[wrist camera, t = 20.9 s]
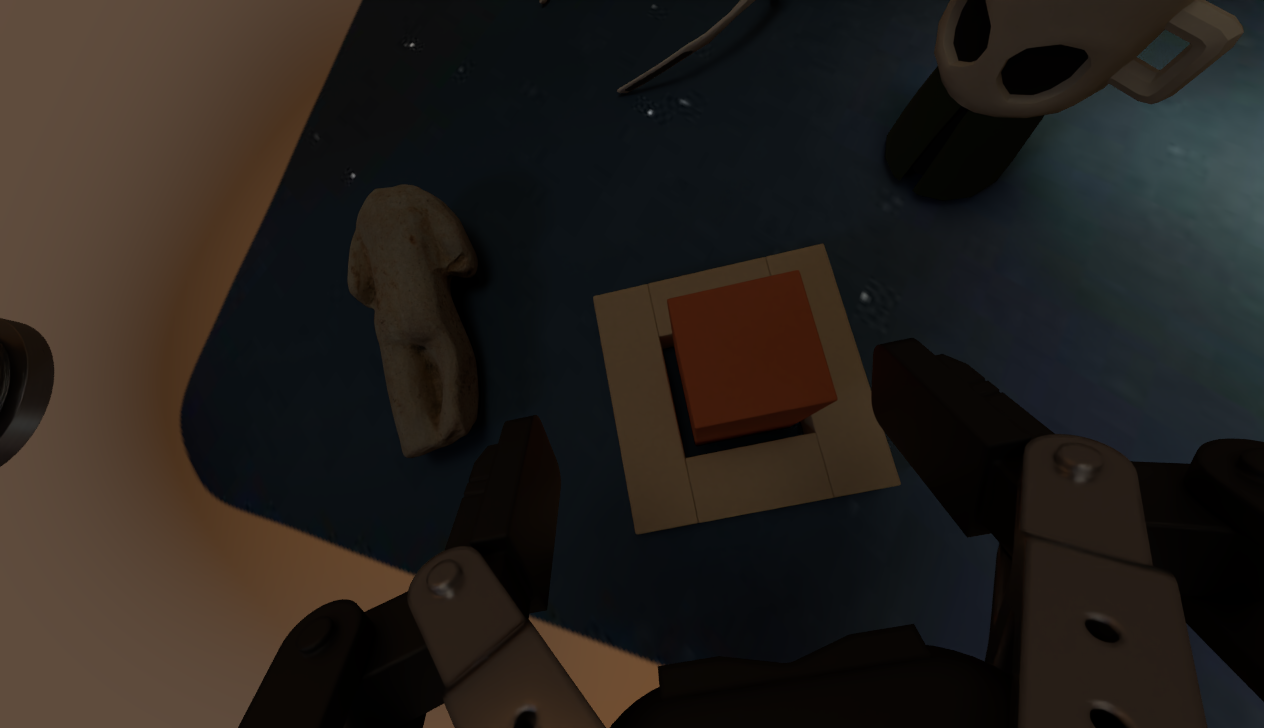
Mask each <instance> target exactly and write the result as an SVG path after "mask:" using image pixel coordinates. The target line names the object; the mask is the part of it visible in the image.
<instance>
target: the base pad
mask: <svg viewBox="0 0 1264 728" xmlns="http://www.w3.org/2000/svg"><path fill="white" fill-rule="evenodd" d="M795 270H799V271H800V274H801V277H802V281H803V284H804V287H805V291H806V294H807V297H808V301H809V304H810V307H811V311H812V314H813V317H814V321H815V324H816V327H817V331H818V334H819V337H820V341H821V344H822V347H823V351H824V354H825V358H826V361H827V364H828V368H829V371H830V374H831V378H832V381H833V384H834V388H835V391H836V394H837V398H838V400H837V401H835V402H834V403H832V404H830V405H828V406H827V407H825V408H823V409H821V410H819V411H818V412H816V413H814V414H812V415H810V416H809V417H807V418H805V419H803V420H802V421H800V422H801V426H802V430H803V433H804V435H799V436H794V437H789V438H784V439H779V440H774V441H769V442H764V443H759V444H754V445H749V446H744V447H739V448H734V449H729V450H724V451H719V452H714V453H709V454H704V455H699V456H694V457H689V458H686V457H685V452H684V448H683V443H682V438H681V434H680V429H679V424H678V419H677V415H676V410H675V405H674V401H673V396H672V391H671V387H670V382H669V377H668V373H667V368H666V363H665V359H664V354H663V349H665V348H670V347H674V341H673V335H672V329H671V323H670V317H669V311H668V305H667V299H669V298H674V297H678V296H683V295H687V294H692V293H696V292H701V291H705V290H710V289H714V288H719V287H723V286H728V285H732V284H736V283H741V282H745V281H750V280H754V279H759V278H763V277H768V276H772V275H777V274H781V273H786V272H790V271H795ZM593 300H594V305H595V311H596V316H597V322H598V328H599V333H600V339H601V344H602V350H603V355H604V361H605V366H606V372H607V377H608V383H609V389H610V394H611V400H612V405H613V411H614V416H615V422H616V427H617V433H618V438H619V444H620V450H621V455H622V461H623V466H624V472H625V477H626V483H627V488H628V494H629V499H630V505H631V511H632V516H633V522H634V527H635V533H636V534H643V533H648V532H653V531H659V530H664V529H669V528H675V527H680V526H685V525H691V524H696V523H698V521H699V523H702V522H707V521H712V520H718V519H723V518H728V517H734V516H739V515H744V514H750V513H755V512H760V511H766V510H771V509H776V508H782V507H787V506H792V505H798V504H803V503H808V502H814V501H819V500H824V499H830V498H833V497H840V496H845V495H851V494H856V493H861V492H867V491H872V490H877V489H882V488H888V487H893V486H898V485H901V483H900V479H899V476H898V473H897V470H896V467H895V464H894V461H893V458H892V455H891V451H890V448H889V445H888V442H887V439H886V436H885V433H884V430H883V429H882V428H881V427H880V425H879V424H878V422H877V420H876V418H875V415H874V412H873V408H872V402H871V395H872V392H871V389H870V386H869V383H868V380H867V377H866V374H865V371H864V368H863V365H862V361H861V358H860V355H859V352H858V349H857V346H856V343H855V340H854V337H853V333H852V330H851V327H850V324H849V321H848V318H847V315H846V312H845V309H844V306H843V302H842V299H841V296H840V293H839V290H838V287H837V284H836V281H835V278H834V274H833V271H832V268H831V265H830V262H829V259H828V256H827V253H826V250H825V246H824V244H819V245H815V246H811V247H806V248H802V249H797V250H793V251H789V252H784V253H780V254H776V255H771V256H767V257H766V258H765V257H762V258H758V259H754V260H749V261H745V262H741V263H736V264H732V265H728V266H723V267H719V268H715V269H710V270H706V271H702V272H697V273H693V274H688V275H684V276H680V277H675V278H671V279H667V280H662V281H658V282H654V283H649V284H645V285H641V286H637V287H632V288H628V289H624V290H619V291H615V292H611V293H606V294H602V295H598V296H594V297H593ZM662 348H663V349H662Z"/></svg>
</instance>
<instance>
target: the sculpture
mask: <svg viewBox="0 0 1264 728" xmlns="http://www.w3.org/2000/svg"><path fill="white" fill-rule="evenodd" d="M477 267H478V259H477V255H476V252H475V250H474V248H473V246H472V244H471V242H470V240H469V238H468V236H467V234H466V233H465V230H464V228H463V225H462V224H461V222H460V220H459V219H458V217H457V216H456V215H455V214H454V213H453V212H452V211H451V210H450V209H449V208H448V206H447V205H446V204H445V203H444V202H442V201H441V200H440V199H438V198H437V197H435V196H433V195H432V194H430V193H428V192H426V191H424V190H422V189H421V188H419V187H417V186H413V185H404V184H403V185H398V186H395V187H390V188H382V189H380V188H378V189H375V190H374V191H373V192H372V193H371V194H370V195H369V196H368V197H367V199H366V200H365V202H364V204H363V206H362V208H361V210H360V212H359V214H358V218H357V223H356V231H355V234H354V236H353V238H352V242H351V247H350V253H349V264H348V286H349V291H350V293H351V294H352V295H353V296H354V297H355V298H356V299H357V300H358V301H360V302H361V303H363V304H364V305H365V306H367V307H369V308H373V309H374V310H375V316H374V323H375V330H376V335H377V338H378V342H379V345H380V350H381V355H382V360H383V367H384V373H385V378H386V385H387V390H388V394H389V399H390V403H391V407H392V412H393V416H394V420H395V424H396V427H397V431H398V435H399V438H400V443H401V448H402V452H403V454H404V456H405V457H407V458H413V457H417V456H421V455H424V454H426V453H429V452H431V451H433V450H436V449H439V448H442V447H445V446H448V445H450V444H452V443H454V442H455V441H457V440H458V439H459V438H461V437H463V436H465V435H467V434H468V433H469V431H470V430H471V427H472V425H473V424H474V423H475V421H476V419H477V412H478V399H479V390H478V375H477V366H476V359H475V356H474V352H473V349H472V346H471V344H470V341H469V338H468V336H467V334H466V332H465V329H464V327H463V325H462V323H461V320H460V317H459V315H458V312H457V310H456V308H455V305H454V303H453V300H452V297H451V290H450V284H451V279H452V277H454V276H458V277H463V278H470V277H472V276H474V275H475V274H476V271H477Z"/></svg>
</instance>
